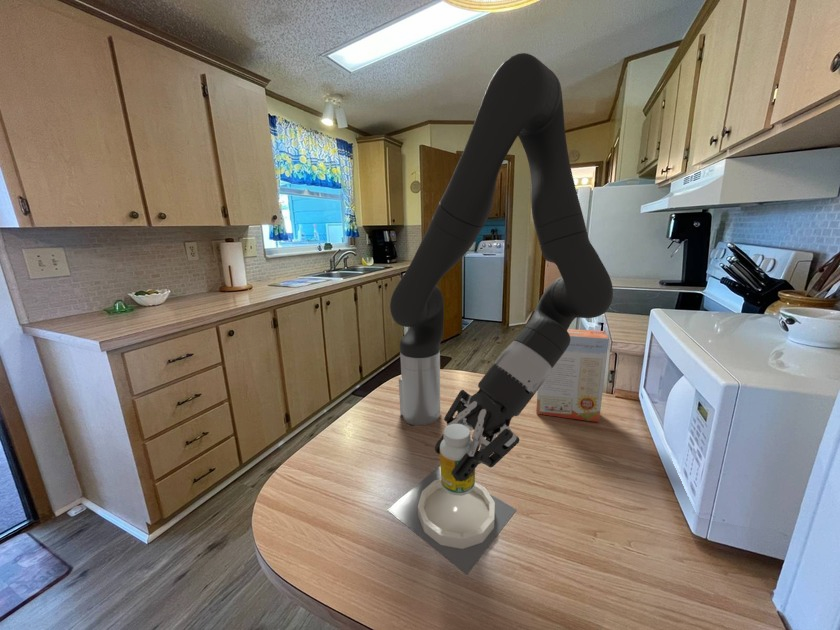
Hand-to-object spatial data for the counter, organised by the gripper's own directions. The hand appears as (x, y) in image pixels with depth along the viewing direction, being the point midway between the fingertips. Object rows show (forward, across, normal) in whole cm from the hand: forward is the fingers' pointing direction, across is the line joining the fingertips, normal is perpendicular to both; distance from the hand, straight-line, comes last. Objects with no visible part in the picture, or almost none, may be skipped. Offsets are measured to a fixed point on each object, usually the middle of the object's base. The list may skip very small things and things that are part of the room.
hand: (447, 464), depth 52 cm
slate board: (+7, -1, +8) cm, 11 cm away
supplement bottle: (+2, 0, +4) cm, 5 cm away
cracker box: (-21, -16, +36) cm, 45 cm away
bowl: (+6, 0, +8) cm, 10 cm away
